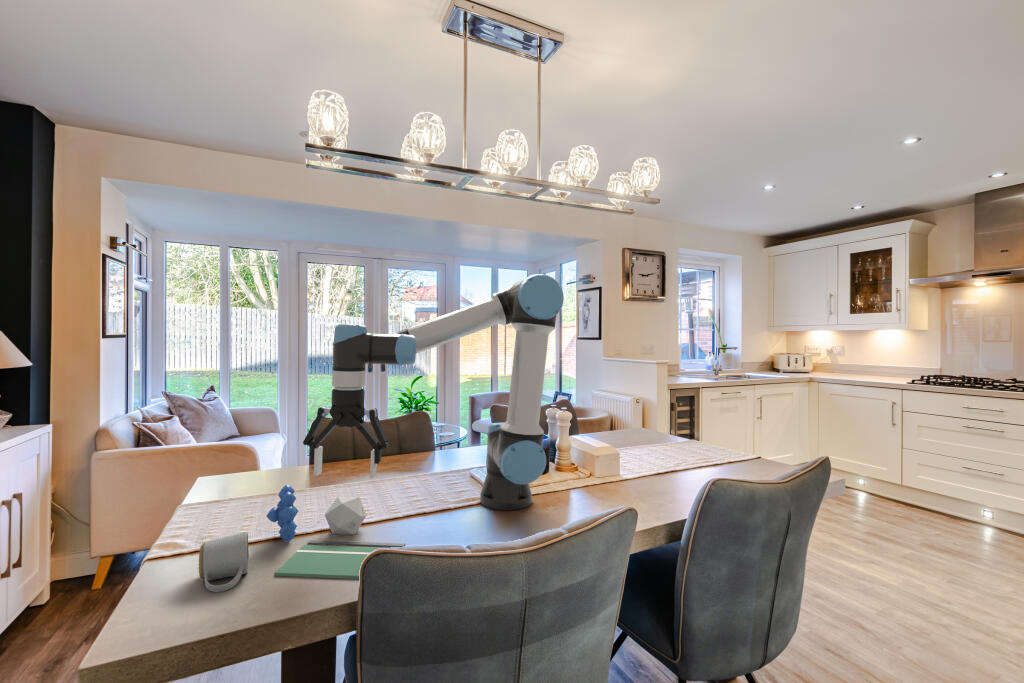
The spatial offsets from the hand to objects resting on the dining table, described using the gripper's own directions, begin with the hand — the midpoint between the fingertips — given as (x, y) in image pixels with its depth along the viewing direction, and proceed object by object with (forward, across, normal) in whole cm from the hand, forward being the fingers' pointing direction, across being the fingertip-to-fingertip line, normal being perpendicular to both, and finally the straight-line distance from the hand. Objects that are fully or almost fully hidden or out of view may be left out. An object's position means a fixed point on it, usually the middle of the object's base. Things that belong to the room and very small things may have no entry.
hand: (345, 475), depth 111 cm
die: (+14, 0, 0) cm, 14 cm away
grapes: (+14, +12, +5) cm, 19 cm away
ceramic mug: (+14, +14, +22) cm, 30 cm away
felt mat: (+14, -6, +15) cm, 21 cm away
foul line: (+14, -6, +6) cm, 16 cm away
